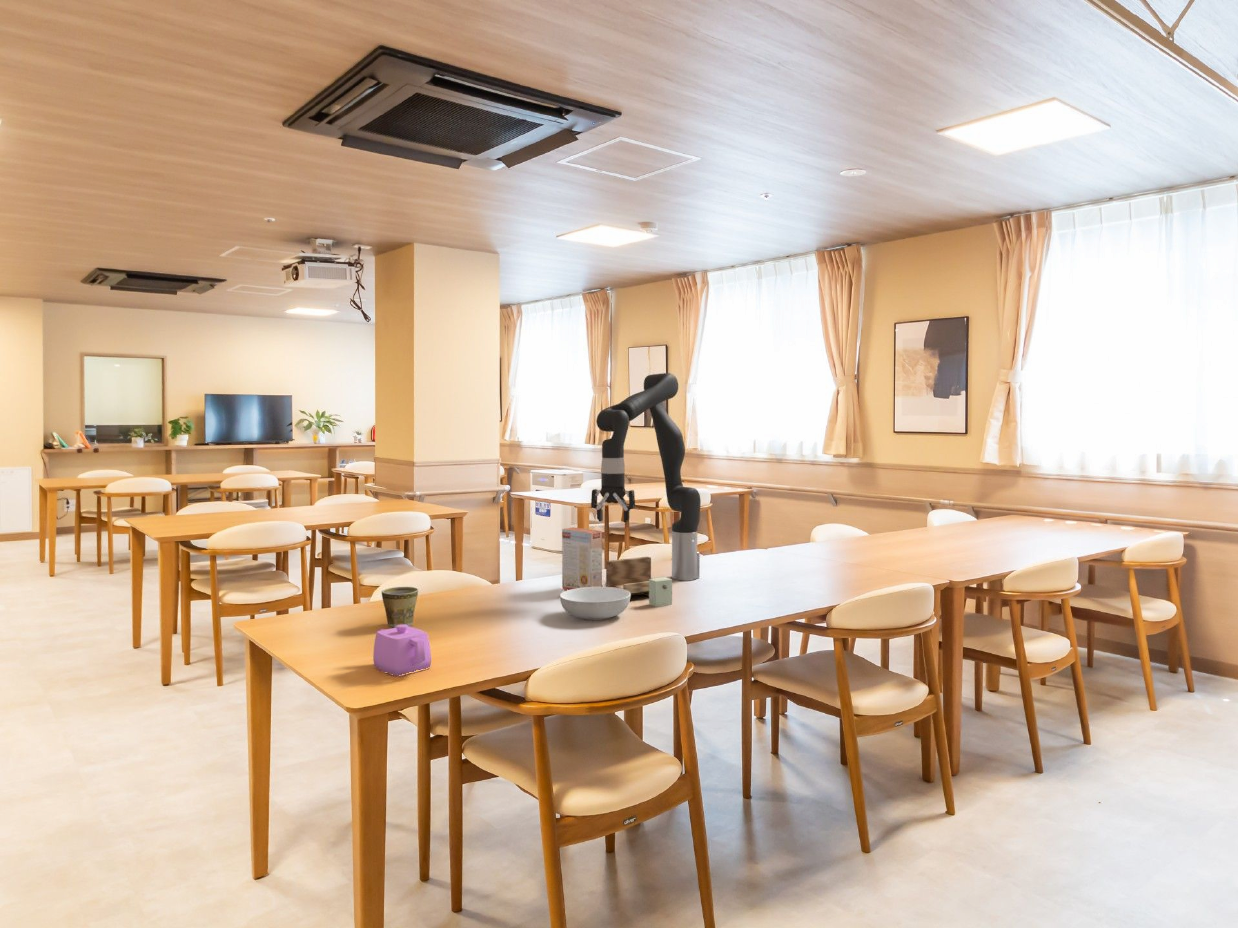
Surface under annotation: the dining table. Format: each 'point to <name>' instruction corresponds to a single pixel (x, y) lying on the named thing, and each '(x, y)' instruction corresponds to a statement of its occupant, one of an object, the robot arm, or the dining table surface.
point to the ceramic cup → (399, 605)
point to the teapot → (401, 650)
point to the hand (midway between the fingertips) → (613, 521)
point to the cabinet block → (660, 592)
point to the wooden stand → (629, 575)
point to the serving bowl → (595, 602)
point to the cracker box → (581, 558)
